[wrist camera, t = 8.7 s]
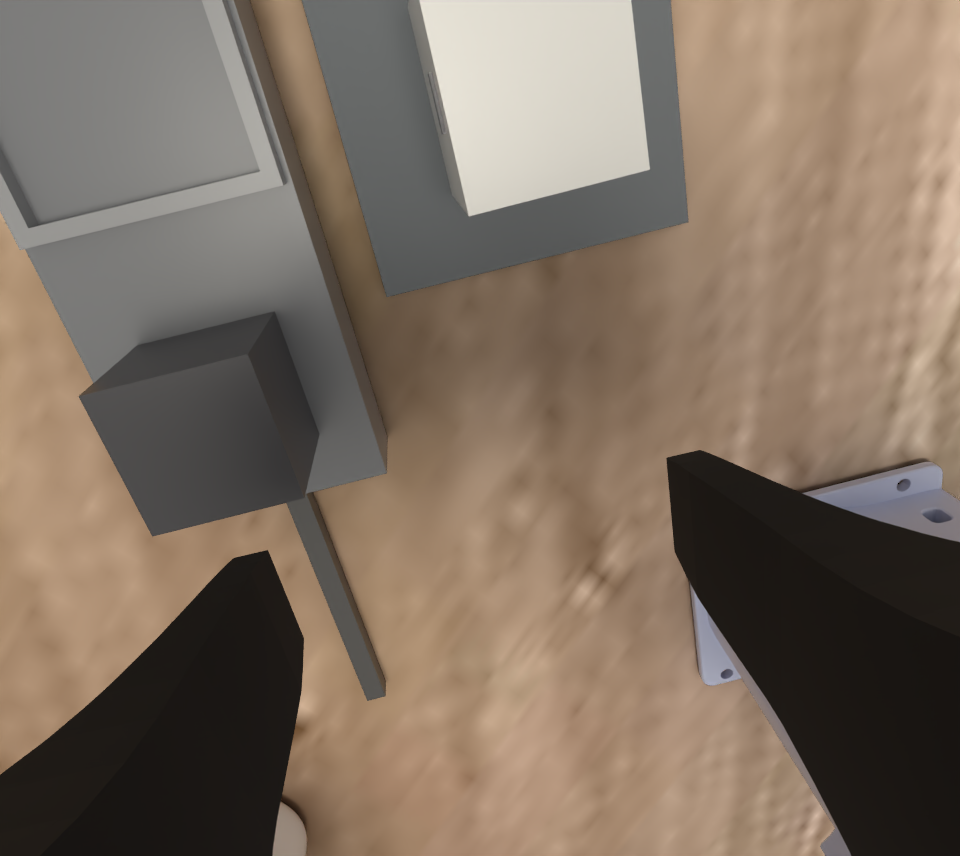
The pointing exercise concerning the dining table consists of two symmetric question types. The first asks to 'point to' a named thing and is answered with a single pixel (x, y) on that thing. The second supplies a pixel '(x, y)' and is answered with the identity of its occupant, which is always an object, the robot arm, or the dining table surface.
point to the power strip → (188, 266)
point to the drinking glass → (289, 834)
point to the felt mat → (421, 169)
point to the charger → (531, 95)
